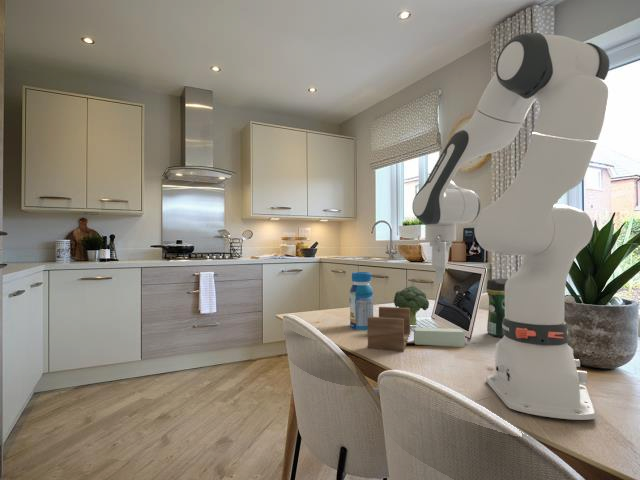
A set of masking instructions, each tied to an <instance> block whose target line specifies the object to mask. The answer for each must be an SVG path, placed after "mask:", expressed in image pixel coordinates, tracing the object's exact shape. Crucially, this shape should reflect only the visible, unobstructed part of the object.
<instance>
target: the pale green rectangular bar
mask: <svg viewBox="0 0 640 480" xmlns="http://www.w3.org/2000/svg"><path fill="white" fill-rule="evenodd" d="M414 341H415V342H414ZM413 342H414V344H415V345H420V346H422V345H423V346H441V347H461V348H462V347H464V348H465V331H464V330H463V329H462V328H439V327H438V328H435V327H434V328H433V327H431V328H430V327H413Z"/></svg>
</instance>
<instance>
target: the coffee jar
mask: <svg viewBox="0 0 640 480" xmlns="http://www.w3.org/2000/svg"><path fill="white" fill-rule="evenodd" d="M508 279H509V278H504V277H503V278H491V279H490V278H489V279H487V282H486V293H487V296H488V303H489V304H488V314H487V326H486V328H487V329H486V331H487V333H488V334H489V335H490V336H492V337H494V336H495V337H498V338H503V337H504V334H503V327H502V323H503V318H504V317H505V284H506V281H507V280H508Z"/></svg>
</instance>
